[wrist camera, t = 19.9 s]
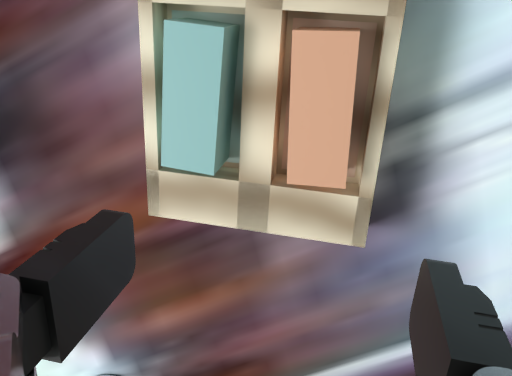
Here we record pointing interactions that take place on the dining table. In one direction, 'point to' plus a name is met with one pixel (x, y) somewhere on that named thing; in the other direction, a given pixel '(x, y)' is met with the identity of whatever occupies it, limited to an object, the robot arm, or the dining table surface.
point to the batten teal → (198, 93)
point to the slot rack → (273, 119)
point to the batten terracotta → (321, 105)
